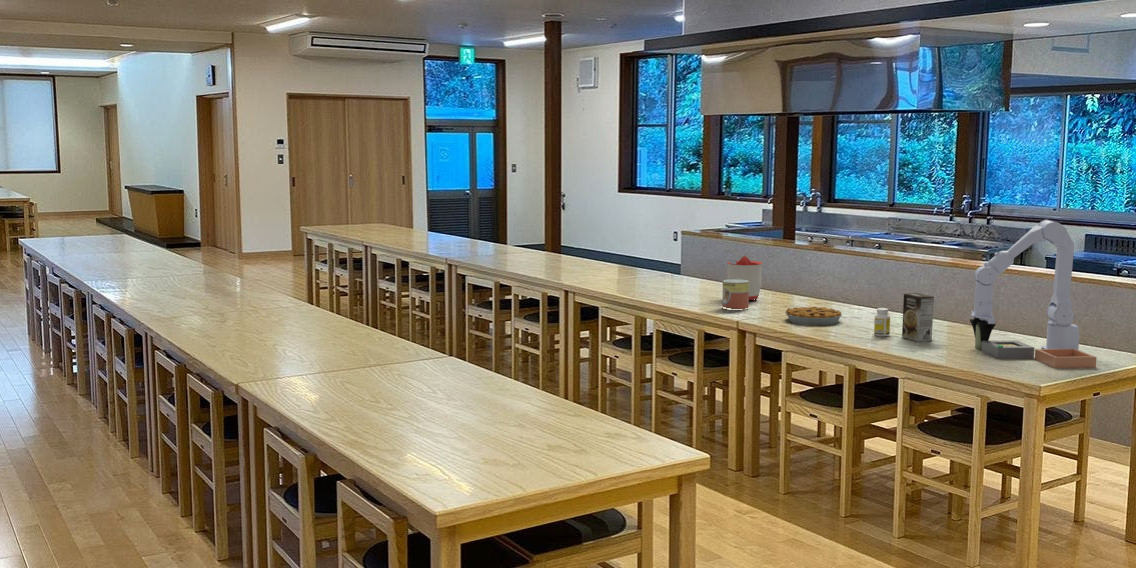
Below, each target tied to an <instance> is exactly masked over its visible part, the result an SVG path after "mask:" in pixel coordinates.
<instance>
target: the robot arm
mask: <svg viewBox="0 0 1136 568" xmlns="http://www.w3.org/2000/svg"><path fill="white" fill-rule="evenodd" d="M1045 241H1047V242H1049V243H1050V244H1051V245H1052V246H1053V247H1054V248H1056V256H1055V268H1054V279H1053V288H1052V289H1053V290H1052V296H1051V298H1050V302H1049V304H1048V306H1047V308H1046V316H1047V318H1048V319H1049V320H1047V329H1046V345H1042V346H1040V349H1077V350H1080V349H1079V347H1080V345H1079V344H1080V329H1079V326H1078V325H1076V324H1072V322H1073V321H1074V317H1075V314H1074V311H1073V307H1072V306H1073V303H1072V299H1071V297H1070V296H1071V285H1072V275H1073V265H1074V264H1073V261H1074V253H1075V252H1074V251H1075V243H1074V241H1073V239H1072V238H1071V235H1070V234H1069V233H1068V229H1067V228H1066V227H1065V226H1064V225H1063V224H1062V223H1060V222H1057V221H1053V220H1050V219H1044V220H1041V221H1040V222H1039V223H1038V224H1037V225H1034V226H1033V227H1032V228H1030V229H1029V231H1027V232H1026V233H1025V234H1024V235H1022V237H1020V238H1019V240H1017V241H1016V242H1015V243H1014V244H1013V245H1012V246H1011V247H1010V248H1008V249H1007V250H1000V251H999V252H997V251H996V252H995V253H994V256H993V257H992V258H991V259H989V260H988V261H987V262H986V261H985V262H983V266H979V267H978V268H977V269H975V272H974V273H973V278H974V280H975V287H974V305H973V306H974V307H973V308H974V309H973V310H971V311H970V317H971V318H970V319H969V323H970V325H971V327H972V329H973V335H974V338H975V337H976V324H978V326H979V329H980V339H981V342H982V341H990V337H991V334H992V331H993V330H994V328H995V327H996V318H995V317H994V315H993V304H994V303H993V302H994V301H993V299H994V283H995V282H996V280H997V277H998V276H1001V274H1002V273H1004V271H1006V270H1007V269H1008V268H1009V267H1011V266H1012V265H1013V264H1014V261H1015V258H1016V257H1017V256H1019V255H1020V254H1021V253H1022V252H1024V251H1025V250H1027V249H1028V248H1029V247H1031V246H1032V245H1033V244H1036V243H1043V242H1045Z"/></svg>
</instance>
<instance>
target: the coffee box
mask: <svg viewBox="0 0 1136 568" xmlns="http://www.w3.org/2000/svg"><path fill="white" fill-rule="evenodd" d="M902 303H903V305H902V324H901V325H902V329H901V330H902V331H901V338H904V339H906V340H911V341H913V342H914V341H915V342H917V343H921V342H931V341H933V324H934V323H933V322H934V304H935V296H932V295H927V294H924V293H920V292H913V293H912V292H909V293H903V302H902Z"/></svg>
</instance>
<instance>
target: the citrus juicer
mask: <svg viewBox="0 0 1136 568" xmlns="http://www.w3.org/2000/svg"><path fill="white" fill-rule="evenodd" d="M726 263H727V269H726V270H725V271H726V273H727V279H742V280H748V281H749V300H753V301H755V300H754V299H757V300H758V299H759V296H760V292H761V288H762V273H763V272H762V271H763V270H762V268H763V267H762V265H763V262H762V261H757V260H750V258H749V257H747V256H746V255H743V256H742V257H741V258H740V259H739V260H736V263H731V262H729V261H727V262H726Z"/></svg>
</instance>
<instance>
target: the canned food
mask: <svg viewBox="0 0 1136 568" xmlns="http://www.w3.org/2000/svg"><path fill="white" fill-rule="evenodd" d="M721 294H722V297H721V298H722V300H721V303H722V304H721V305H722V306H723V307H726V308H731V309H745V308H748V307H749V305H750V303H749V302H750V301H749V281H748V280H742V279H728V278H727V279H723V280H722V293H721Z"/></svg>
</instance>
